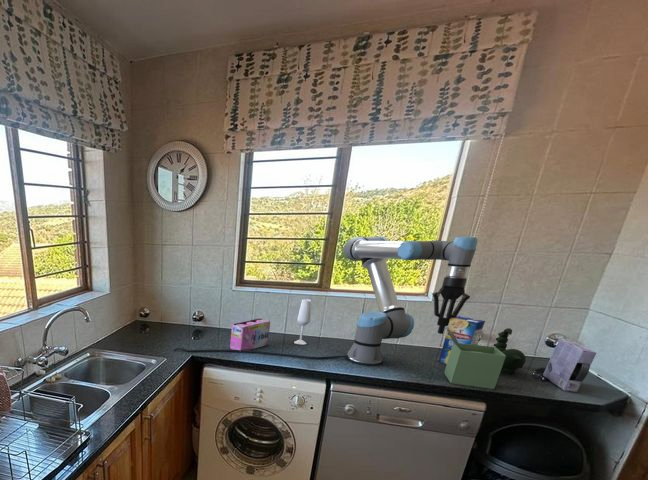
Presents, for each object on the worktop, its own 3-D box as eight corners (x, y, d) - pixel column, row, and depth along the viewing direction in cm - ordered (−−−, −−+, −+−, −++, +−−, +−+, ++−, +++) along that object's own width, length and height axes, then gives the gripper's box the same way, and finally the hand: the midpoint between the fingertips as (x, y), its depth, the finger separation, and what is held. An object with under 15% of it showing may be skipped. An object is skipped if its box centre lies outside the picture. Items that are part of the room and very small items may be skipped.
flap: (461, 349, 165) (460, 349, 165) (453, 340, 176) (452, 341, 176) (453, 333, 164) (452, 334, 165) (446, 326, 175) (445, 326, 176)
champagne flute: (291, 342, 225) (297, 299, 216) (297, 340, 229) (303, 298, 220) (302, 345, 220) (309, 301, 212) (308, 342, 225) (315, 300, 216)
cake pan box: (580, 393, 161) (598, 352, 155) (564, 391, 163) (582, 350, 157) (555, 377, 178) (571, 339, 171) (541, 375, 180) (556, 337, 173)
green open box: (450, 383, 171) (460, 350, 165) (443, 373, 182) (453, 342, 176) (494, 389, 165) (506, 355, 160) (484, 378, 176) (495, 346, 171)
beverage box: (463, 368, 188) (477, 322, 180) (438, 361, 197) (450, 317, 189) (470, 366, 191) (485, 320, 183) (446, 359, 200) (458, 315, 192)
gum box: (258, 341, 227) (261, 317, 222) (269, 344, 221) (273, 320, 216) (229, 348, 213) (231, 323, 208) (240, 352, 207) (243, 327, 203)
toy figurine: (481, 363, 200) (500, 375, 178) (492, 325, 194) (513, 333, 172) (505, 366, 196) (527, 379, 174) (517, 327, 191) (541, 336, 169)
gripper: (438, 277, 162) (423, 333, 171) (478, 279, 157) (460, 337, 166) (435, 274, 169) (420, 329, 177) (472, 276, 164) (456, 332, 172)
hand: (440, 333), depth 172 cm, fingers closed
